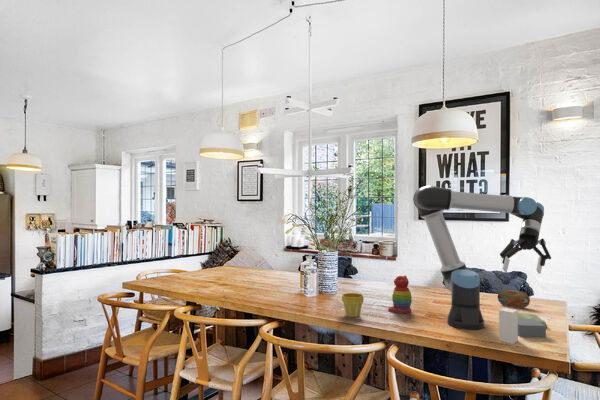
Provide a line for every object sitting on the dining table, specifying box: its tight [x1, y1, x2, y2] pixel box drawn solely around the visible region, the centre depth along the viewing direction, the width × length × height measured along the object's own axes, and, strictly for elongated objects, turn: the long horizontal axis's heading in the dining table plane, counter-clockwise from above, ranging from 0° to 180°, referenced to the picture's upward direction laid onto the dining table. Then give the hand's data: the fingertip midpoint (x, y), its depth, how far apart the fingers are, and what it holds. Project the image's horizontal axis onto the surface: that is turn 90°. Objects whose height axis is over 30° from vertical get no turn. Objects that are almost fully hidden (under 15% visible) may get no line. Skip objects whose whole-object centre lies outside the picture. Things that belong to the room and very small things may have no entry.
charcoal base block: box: [518, 318, 547, 339], centre depth 164 cm, size 10×10×5 cm
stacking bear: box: [388, 275, 412, 314], centre depth 199 cm, size 11×10×18 cm
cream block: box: [498, 307, 519, 345], centre depth 155 cm, size 5×5×12 cm
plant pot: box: [341, 292, 364, 318], centre depth 191 cm, size 10×10×10 cm
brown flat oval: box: [497, 289, 531, 309], centre depth 208 cm, size 15×3×8 cm, turn 47°
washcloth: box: [518, 312, 547, 327], centre depth 181 cm, size 13×18×3 cm
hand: (521, 271), depth 170 cm, fingers open, 13 cm apart
